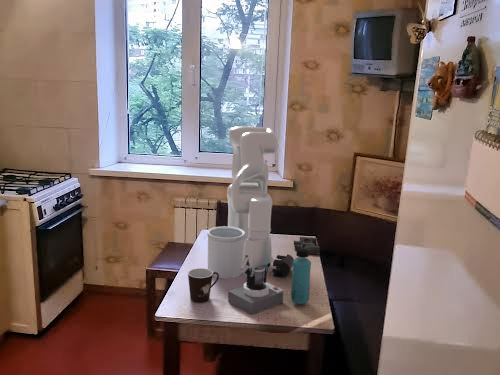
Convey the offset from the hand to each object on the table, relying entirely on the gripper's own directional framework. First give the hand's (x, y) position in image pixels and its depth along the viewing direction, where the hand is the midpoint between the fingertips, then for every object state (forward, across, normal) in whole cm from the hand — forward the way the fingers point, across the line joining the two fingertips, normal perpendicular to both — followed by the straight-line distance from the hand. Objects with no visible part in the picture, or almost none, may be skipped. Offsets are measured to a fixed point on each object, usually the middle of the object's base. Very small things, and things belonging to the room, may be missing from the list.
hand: (256, 283), depth 156 cm
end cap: (+7, -27, -12) cm, 31 cm away
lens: (+1, 0, 0) cm, 1 cm away
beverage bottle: (+7, -11, +11) cm, 17 cm away
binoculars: (+8, -58, -26) cm, 64 cm away
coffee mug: (+7, +13, -12) cm, 19 cm away
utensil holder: (+7, -8, -26) cm, 29 cm away
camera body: (+7, 0, 0) cm, 7 cm away
